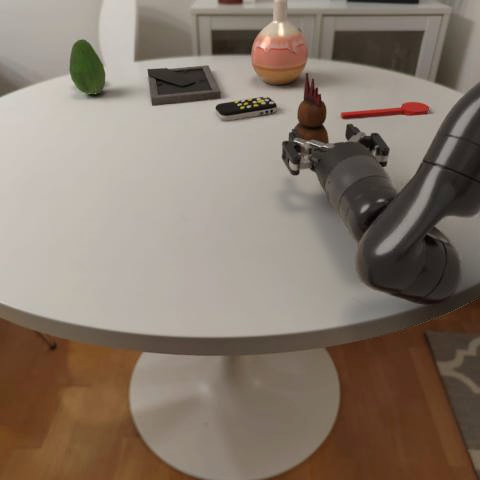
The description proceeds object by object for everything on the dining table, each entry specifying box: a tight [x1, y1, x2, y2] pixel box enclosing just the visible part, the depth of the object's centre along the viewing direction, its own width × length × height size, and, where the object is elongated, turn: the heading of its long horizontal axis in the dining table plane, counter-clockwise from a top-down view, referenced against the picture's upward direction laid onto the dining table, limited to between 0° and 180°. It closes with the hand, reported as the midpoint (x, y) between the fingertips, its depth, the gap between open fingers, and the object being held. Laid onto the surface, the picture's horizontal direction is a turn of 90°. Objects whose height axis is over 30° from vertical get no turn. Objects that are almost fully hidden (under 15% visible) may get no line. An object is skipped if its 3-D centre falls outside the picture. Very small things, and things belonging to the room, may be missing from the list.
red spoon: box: [340, 101, 430, 120], centre depth 96 cm, size 19×6×1 cm, turn 98°
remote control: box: [215, 95, 278, 122], centre depth 98 cm, size 6×13×2 cm, turn 109°
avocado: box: [68, 38, 106, 95], centre depth 107 cm, size 8×8×12 cm
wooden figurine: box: [293, 72, 330, 152], centre depth 75 cm, size 7×6×15 cm
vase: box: [250, 0, 309, 86], centre depth 108 cm, size 14×14×18 cm
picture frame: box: [146, 65, 222, 106], centre depth 112 cm, size 16×2×21 cm
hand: (320, 132), depth 70 cm, fingers open, 8 cm apart
